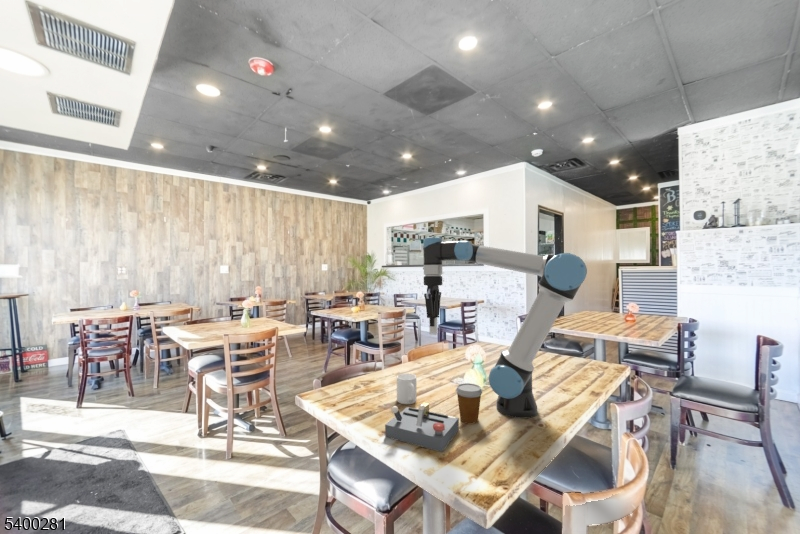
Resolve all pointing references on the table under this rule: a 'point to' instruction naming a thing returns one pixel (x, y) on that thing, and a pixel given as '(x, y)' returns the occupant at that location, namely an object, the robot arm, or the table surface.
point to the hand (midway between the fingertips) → (433, 333)
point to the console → (422, 429)
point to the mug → (406, 388)
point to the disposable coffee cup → (469, 402)
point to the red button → (439, 428)
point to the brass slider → (426, 409)
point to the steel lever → (420, 415)
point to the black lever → (396, 413)
